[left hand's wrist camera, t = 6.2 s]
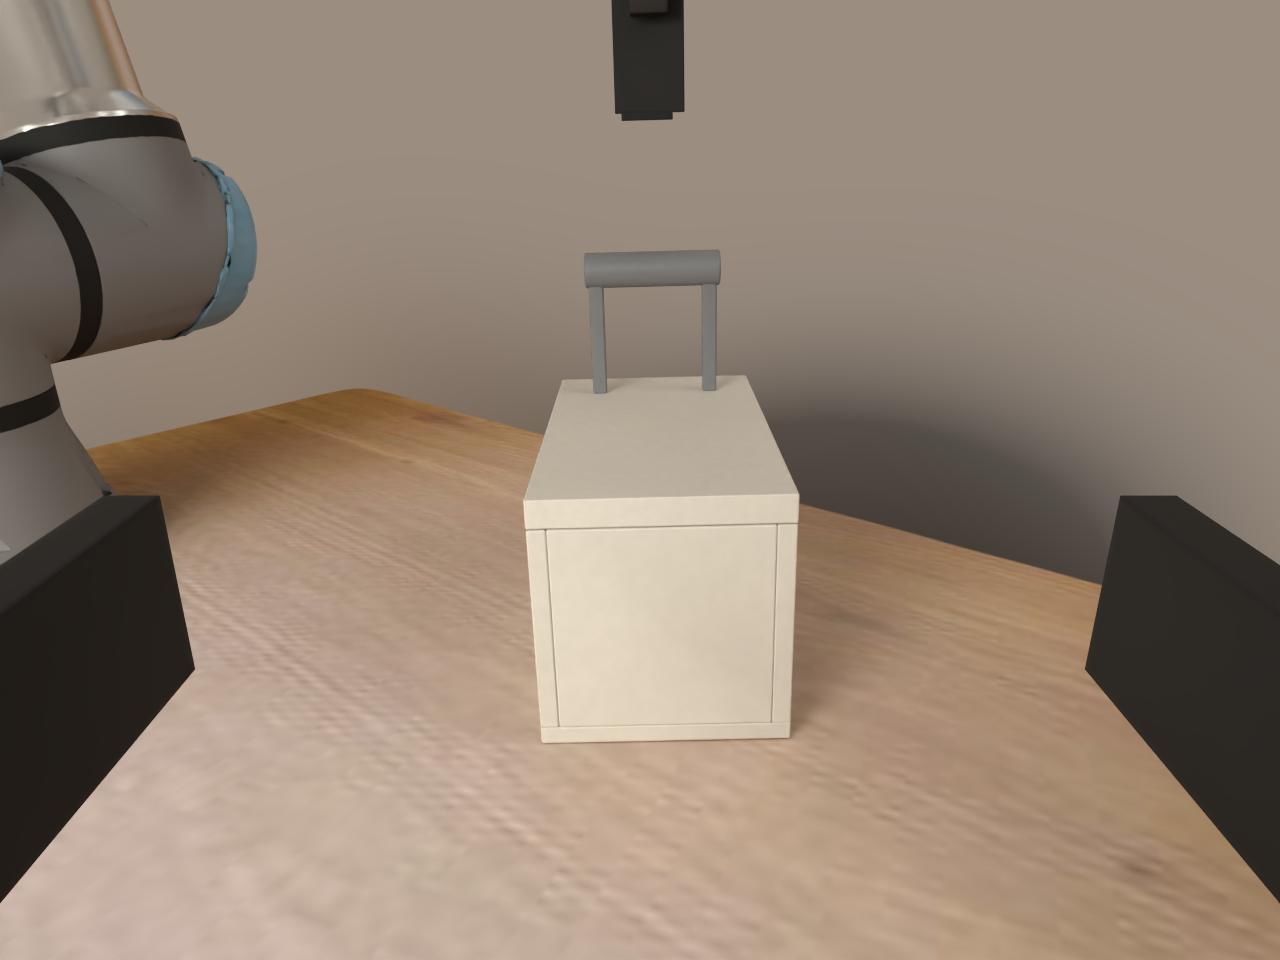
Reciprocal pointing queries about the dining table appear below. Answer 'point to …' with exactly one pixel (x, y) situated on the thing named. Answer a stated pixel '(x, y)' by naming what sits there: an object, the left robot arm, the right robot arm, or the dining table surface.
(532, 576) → the chest
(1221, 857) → the dining table surface
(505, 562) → the dining table surface
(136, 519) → the left robot arm
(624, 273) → the lid
